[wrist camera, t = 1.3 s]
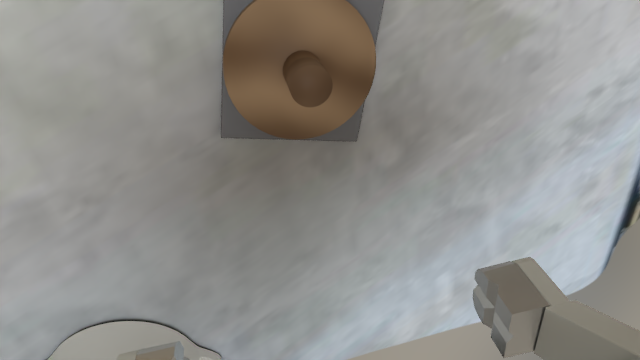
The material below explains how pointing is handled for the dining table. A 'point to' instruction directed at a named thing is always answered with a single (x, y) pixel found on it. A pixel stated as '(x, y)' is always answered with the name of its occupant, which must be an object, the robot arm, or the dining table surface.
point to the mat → (236, 126)
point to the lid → (298, 65)
